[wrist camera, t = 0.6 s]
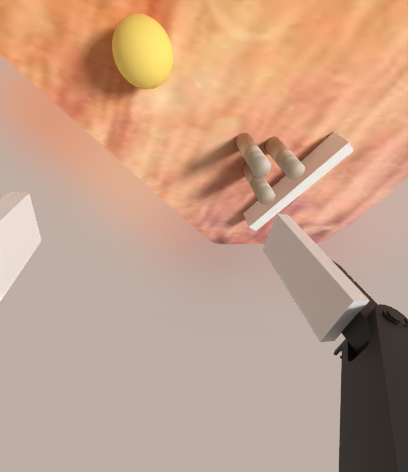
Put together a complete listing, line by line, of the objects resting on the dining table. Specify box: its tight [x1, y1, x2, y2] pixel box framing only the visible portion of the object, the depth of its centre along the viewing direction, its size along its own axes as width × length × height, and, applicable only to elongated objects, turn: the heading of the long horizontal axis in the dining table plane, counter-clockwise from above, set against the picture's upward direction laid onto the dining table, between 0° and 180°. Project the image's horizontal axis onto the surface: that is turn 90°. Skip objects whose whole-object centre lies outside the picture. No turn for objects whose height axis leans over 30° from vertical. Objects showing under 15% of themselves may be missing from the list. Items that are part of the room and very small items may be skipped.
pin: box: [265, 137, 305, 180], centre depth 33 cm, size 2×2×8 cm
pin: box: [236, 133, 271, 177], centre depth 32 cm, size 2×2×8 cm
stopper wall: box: [243, 132, 354, 231], centre depth 40 cm, size 20×2×4 cm, turn 139°
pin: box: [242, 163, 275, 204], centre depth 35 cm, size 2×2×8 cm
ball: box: [112, 14, 173, 89], centre depth 23 cm, size 6×6×6 cm
